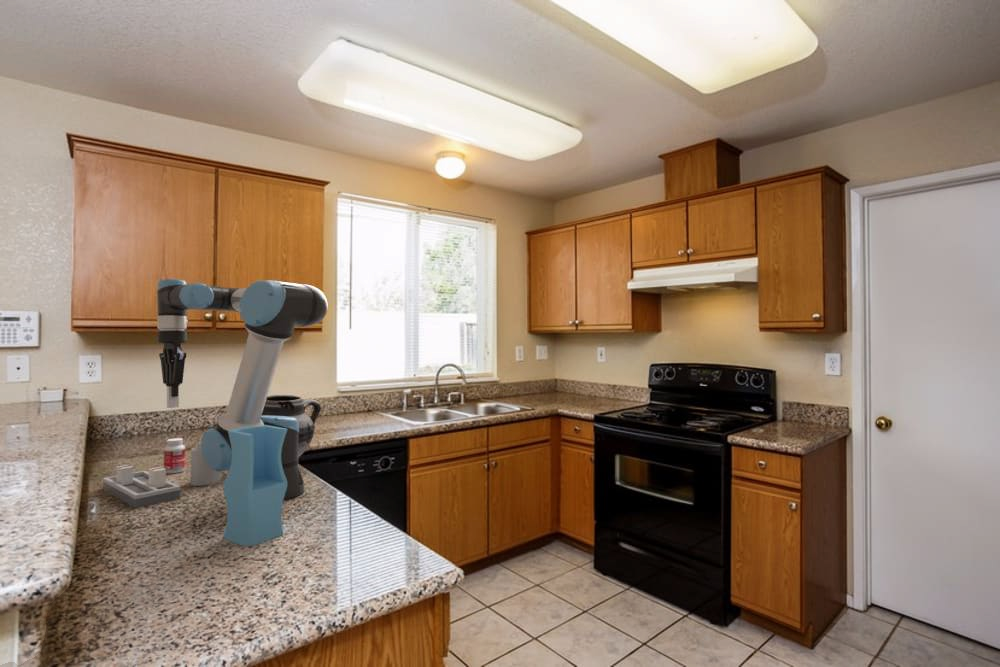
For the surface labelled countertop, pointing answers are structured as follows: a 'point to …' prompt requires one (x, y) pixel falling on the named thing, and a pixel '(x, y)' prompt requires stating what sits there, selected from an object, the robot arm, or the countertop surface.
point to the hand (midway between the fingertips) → (172, 407)
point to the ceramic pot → (294, 415)
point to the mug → (202, 470)
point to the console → (141, 490)
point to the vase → (255, 485)
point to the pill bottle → (174, 456)
